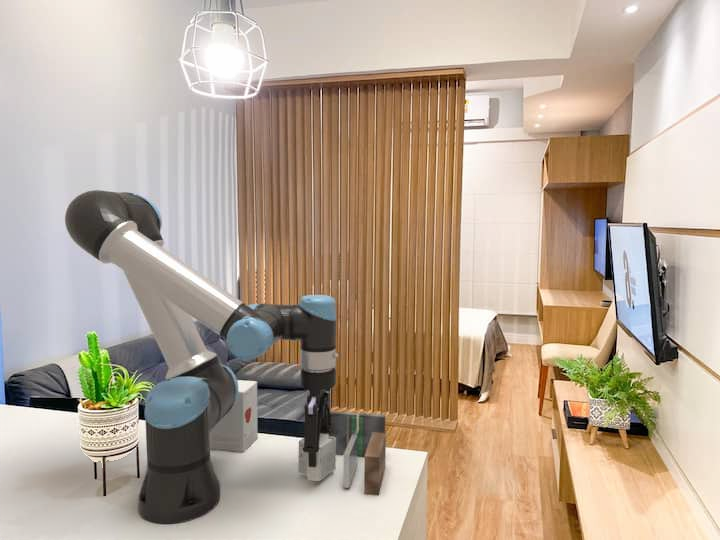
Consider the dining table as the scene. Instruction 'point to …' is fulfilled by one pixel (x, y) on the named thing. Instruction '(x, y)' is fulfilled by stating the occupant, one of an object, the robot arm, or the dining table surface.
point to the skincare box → (326, 456)
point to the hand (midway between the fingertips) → (318, 470)
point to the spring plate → (351, 457)
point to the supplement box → (238, 421)
